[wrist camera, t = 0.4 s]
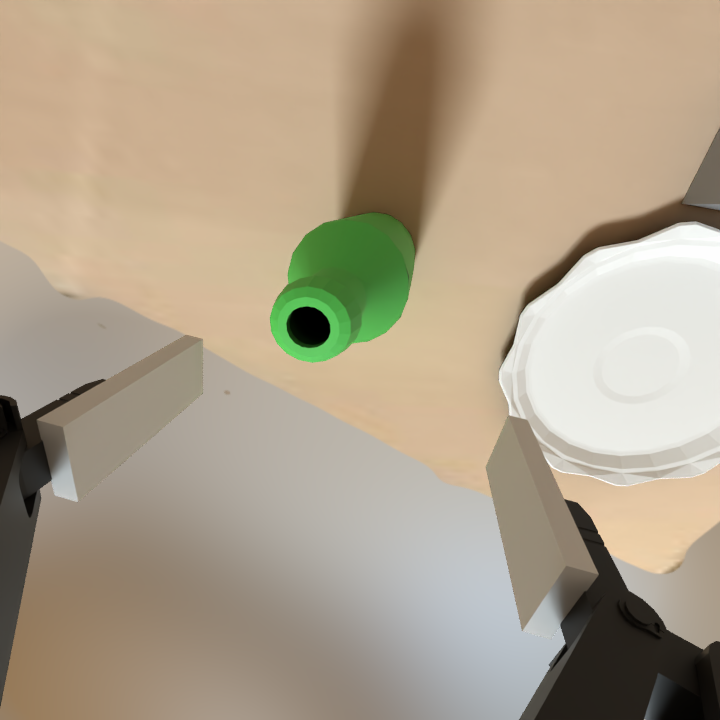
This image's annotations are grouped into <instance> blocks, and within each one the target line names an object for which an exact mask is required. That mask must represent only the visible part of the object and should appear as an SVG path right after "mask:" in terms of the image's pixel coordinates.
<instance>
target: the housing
mask: <svg viewBox="0 0 720 720" xmlns="http://www.w3.org/2000/svg"><path fill="white" fill-rule="evenodd" d="M682 204H686V205H692V206H697V207H703V208H708V209H714V210H719V211H720V129H719V131H718V133H717V135H716V137H715V139H714V141H713V143H712V145H711V147H710V149H709V151H708V152H707V154H706V156H705V158H704V160H703V162H702V164H701V166H700V168H699V170H698V172H697V174H696V176H695V178H694V180H693V182H692V184H691V186H690V188H689V190H688V192H687V194H686V196H685V198H684V200H683V202H682Z"/></svg>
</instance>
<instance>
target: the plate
mask: <svg viewBox="0 0 720 720" xmlns="http://www.w3.org/2000/svg"><path fill="white" fill-rule="evenodd" d="M498 380H499V382H500V385H501V387H502V390H503V392H504V394H505V397H506V399H507V401H508V406H509V415H510V416H514V417H518V418H522V419H526V420H528V422H529V424H530V426H531V428H532V430H533V433H534V435H535V437H536V439H537V441H538V443H539V446H540V448H541V450H542V452H543V454H544V456H545V459H546V461H547V462H548V464H549V465H550V466H551V467H552V468H554V469H556V470H558V471H560V472H563V473H570V474H577V475H585V476H591V477H593V478H596V479H599V480H602V481H604V482H607V483H610V484H613V485H615V486H630V485H635V484H639V483H643V482H648V481H652V480H657V479H670V478H691V477H695V476H698V475H701V474H704V473H706V472H707V471H709V470H710V469H712V468H713V467H715V466H716V465H718V464H720V230H719V229H716V228H713V227H711V226H708V225H705V224H702V223H699V222H696V221H694V222H681V223H676V224H674V225H671V226H669V227H667V228H664V229H662V230H659V231H657V232H655V233H652V234H650V235H648V236H645V237H643V238H641V239H638V240H634V241H629V242H623V243H618V244H612V245H607V246H601V247H597V248H595V249H593V250H592V251H590V252H588V253H586V254H584V255H583V256H582V257H581V258H580V259H579V260H578V261H577V262H576V264H575V265H574V266H573V267H572V268H571V269H570V270H569V271H568V272H567V273H566V274H565V276H564V277H563V278H562V279H561V280H560V281H559V282H558V283H557V284H556V285H554V286H553V287H551V288H550V289H549V290H547V291H546V292H544V293H543V294H541V295H540V296H538V297H537V298H536V299H534V300H533V301H531V302H530V303H528V304H527V305H526V307H525V308H524V310H523V311H522V313H521V314H520V316H519V321H518V325H517V330H516V334H515V338H514V343H513V345H512V347H511V349H510V351H509V352H508V354H507V356H506V358H505V360H504V361H503V363H502V365H501V367H500V369H499V379H498Z"/></svg>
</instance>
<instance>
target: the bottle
mask: <svg viewBox="0 0 720 720" xmlns="http://www.w3.org/2000/svg"><path fill="white" fill-rule="evenodd" d="M414 259H415V248H414V244H413V241H412V238H411V235H410V233H409V232H408V231H407V229H406V228H405V227H404V225H403V224H402V223H401V222H399V221H398V220H396V219H395V218H393V217H392V216H390V215H387V214H382V213H376V212H372V213H367V214H362V215H357V216H352V217H347V218H343V219H339V220H334V221H330V222H326V223H323V224H322V225H320V226H319V227H317V228H315V229H314V230H312V231H311V232H309V233H308V234H306V235H305V237H304V238H303V240H302V241H301V242H300V244H299V245H298V247H297V248H296V249H295V251H294V252H293V255H292V259H291V263H290V267H289V270H288V283H289V284H288V285H287V286H286V287H285V288H284V289H283V291H282V292H281V293H280V294H279V296H278V297H277V299H276V301H275V303H274V306H273V309H272V313H271V316H270V324H271V332H272V334H273V336H274V338H275V340H276V342H277V344H278V345H279V346H280V347H281V348H282V349H283V350H284V351H285V352H286V353H287V354H289V355H291V356H293V357H294V358H296V359H298V360H302V361H307V362H312V363H313V362H320V361H326V360H328V359H330V358H333V357H335V356H337V355H338V354H340V353H341V352H343V351H344V350H346V349H347V348H348V347H349V346H350V345H351V344H352V343H358V342H367V341H370V340H372V339H374V338H376V337H378V336H380V335H382V334H384V333H386V332H387V331H388V330H389V329H390V328H391V327H392V326H393V325H394V324H395V323H396V321H397V320H398V319H399V318H400V317H401V314H402V312H403V309H404V307H405V304H406V302H407V300H408V295H409V290H410V286H411V281H412V275H413V269H414Z"/></svg>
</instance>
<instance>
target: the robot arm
mask: <svg viewBox="0 0 720 720" xmlns="http://www.w3.org/2000/svg"><path fill="white" fill-rule="evenodd" d="M202 394H203V339H201V338H197V337H193V336H189V335H185V336H183V337H182V338H180V339H178V340H176V341H174V342H173V343H171V344H169V345H167V346H166V347H164V348H162V349H160V350H159V351H157V352H155V353H153V354H152V355H150V356H148V357H146V358H145V359H143V360H141V361H139V362H137V363H136V364H134V365H132V366H130V367H129V368H127V369H125V370H123V371H122V372H120V373H118V374H117V375H114V376H113V377H111V378H109V379H107V380H104V379H101V380H98V381H94V382H91V383H88V384H85V385H83V386H81V387H79V388H77V389H76V390H74V391H72V392H71V394H69V393H68V394H66V395H65V396H63V397H61V398H60V399H59V400H55V401H54V402H52V403H50V404H48V405H46V406H44V407H43V408H41V409H39V410H37V411H35V412H33V413H31V414H30V415H28V416H26V417H24V418H22V419H21V418H20V414H19V410H18V406H17V402H16V400H14V399H13V398H11V397H7V396H2V395H0V706H1V701H2V696H3V691H4V685H5V680H6V675H7V670H8V665H9V660H10V655H11V649H12V644H13V639H14V634H15V629H16V624H17V619H18V614H19V609H20V604H21V599H22V593H23V588H24V583H25V577H26V573H27V568H28V563H29V557H30V553H31V548H32V542H33V537H34V532H35V527H36V522H37V517H38V512H39V507H40V501H41V494H40V490H39V489H40V488H41V487H43V486H44V485H46V484H47V483H48V482H50V481H51V482H52V486H53V490H54V494H55V496H59V497H63V498H66V499H69V500H73V501H76V502H79V501H80V500H81V499H82V498H83V497H85V496H86V495H87V494H88V493H89V492H90V491H91V490H93V489H94V488H95V487H96V486H97V485H98V484H100V483H101V482H102V481H103V480H104V479H105V478H106V477H108V476H109V475H110V474H111V473H112V472H113V471H114V470H116V469H117V468H118V467H119V466H120V465H121V464H122V463H124V462H125V461H126V460H127V459H128V458H129V457H130V456H132V455H133V454H134V453H135V452H136V451H137V450H139V449H140V448H141V447H142V446H143V445H144V444H145V443H147V442H148V441H149V440H150V439H151V438H152V437H153V436H155V435H156V434H157V433H158V432H159V431H160V430H161V429H162V428H164V427H165V426H166V425H167V424H168V423H169V422H171V421H172V420H173V419H174V418H175V417H176V416H178V414H180V413H181V412H182V411H183V410H184V409H186V408H187V407H188V406H189V405H190V404H191V403H192V402H194V401H195V400H196V399H197V398H198V397H199V396H200V395H202ZM486 471H487V475H488V479H489V484H490V488H491V493H492V497H493V502H494V506H495V511H496V515H497V519H498V524H499V529H500V533H501V538H502V542H503V547H504V551H505V556H506V560H507V565H508V569H509V573H510V578H511V582H512V587H513V592H514V595H515V601H516V605H517V609H518V614H519V619H520V623H521V628H522V631H523V632H527V633H530V634H534V635H537V636H541V637H544V638H548V639H552V637H553V636H554V634H555V633H556V632H557V630H558V629H559V628H560V626H561V629H562V632H563V636H564V639H565V642H566V644H565V645H564V646H563V648H562V649H561V650H560V651H559V653H558V654H557V655H556V656H555V658H554V659H553V660H552V662H551V663H550V664H549V666H550V669H549V670H548V672H547V674H546V675H545V677H544V679H543V680H542V682H541V684H540V685H539V687H538V689H537V690H536V692H535V694H534V695H533V697H532V699H531V701H530V702H529V704H528V706H527V707H526V709H525V711H524V712H523V714H522V716H521V718H520V719H519V720H644V719H645V720H720V642H718V641H716V642H714V643H712V644H710V645H709V646H708V647H706V648H705V649H704V650H703V649H701V648H699V647H697V646H695V645H693V644H692V643H690V642H688V641H686V640H684V639H682V638H681V637H678V636H677V635H675V634H673V633H671V632H670V631H668V630H666V627H665V625H664V623H663V621H662V619H661V618H660V617H659V616H658V614H657V613H656V612H655V611H654V609H653V608H651V607H650V606H649V605H648V604H647V603H646V602H645V601H644V600H643V599H641V598H639V597H638V596H636V595H635V594H633V593H632V592H630V591H628V589H627V587H626V585H625V583H624V581H623V579H622V577H621V575H620V573H619V571H618V569H617V567H616V566H615V564H614V562H613V560H612V558H611V556H610V554H609V552H608V550H607V548H606V547H604V542H603V540H602V538H601V536H600V535H599V534H598V531H597V529H596V527H595V525H594V523H593V521H592V519H591V517H590V516H589V515H588V514H587V513H586V512H585V510H584V509H583V508H582V507H581V506H580V505H579V504H578V503H576V502H573V501H569V500H565V499H564V498H563V496H562V493H561V491H560V489H559V487H558V485H557V483H556V480H555V478H554V476H553V474H552V472H551V470H550V467H549V465H548V463H547V461H546V459H545V456H544V454H543V452H542V450H541V448H540V446H539V443H538V441H537V439H536V437H535V435H534V433H533V430H532V428H531V426H530V424H529V422H528V420H526V419H522V418H518V417H514V416H510V415H508V418H507V420H506V422H505V425H504V427H503V429H502V431H501V434H500V436H499V438H498V440H497V443H496V445H495V447H494V449H493V452H492V454H491V456H490V459H489V461H488V463H487V465H486Z"/></svg>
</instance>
